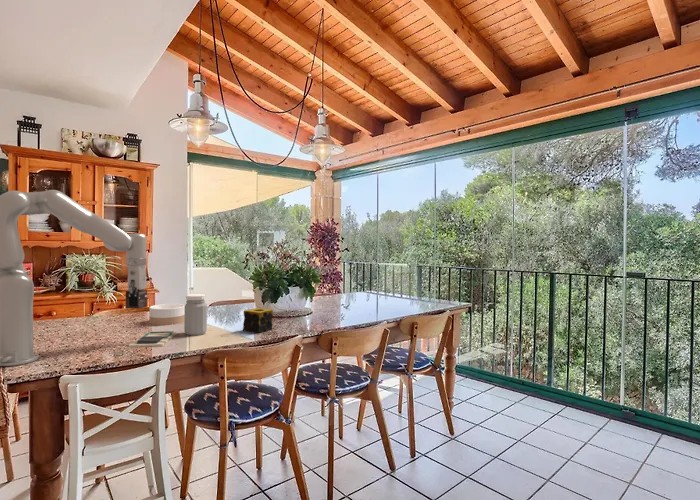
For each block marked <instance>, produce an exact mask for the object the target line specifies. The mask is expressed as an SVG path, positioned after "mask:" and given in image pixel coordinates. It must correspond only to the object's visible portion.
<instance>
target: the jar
mask: <svg viewBox="0 0 700 500" xmlns="http://www.w3.org/2000/svg"><path fill="white" fill-rule="evenodd" d="M185 298H186V299H185V300H186V301H185V302H186V303H185V304H184V305H185V317H184V322H183V323H184V332H183V333H184V334H186V335H187V336H192V337H193V336H200V335H201V336H202V335H204V334H206V332H207V330H208V329H207V328H208V325H207V324H208V319H207V318H208V312H207V311H208V306H207V305H208V304H207V302H206V294H204V293H190V294H186V295H185Z"/></svg>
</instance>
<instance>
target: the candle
mask: <svg viewBox="0 0 700 500" xmlns="http://www.w3.org/2000/svg"><path fill="white" fill-rule="evenodd" d="M273 310H274V309H268V308H263V307H262V308H259V307H255V308H250V309H245V310H243V319H244V320H243V323H242V325H243V326H242V329H243V330H242V331H243V332H248V333H255V334H262V333H265V332H269V331H271V330H273Z"/></svg>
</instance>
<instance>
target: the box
mask: <svg viewBox="0 0 700 500" xmlns="http://www.w3.org/2000/svg"><path fill="white" fill-rule="evenodd" d="M137 296H138V306H129V290H125V309H133V310H134V309H135V310H138V309H143V308H147V307H148V290H147V289H143V290H138V291H137Z"/></svg>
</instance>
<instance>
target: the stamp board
mask: <svg viewBox="0 0 700 500" xmlns="http://www.w3.org/2000/svg"><path fill="white" fill-rule="evenodd" d="M176 335H177V331H174V330H173V331H172V330H171V331H170V330H169V331H166V330H165V331H161V330H160V331H148V332H145V333H144V334H142V335H141V336H139V337H138V338H137V339H135V340H134V341H132V342H131V343H129V344H128V348H141V347H142V348H144V347H145V348H146V347H164V346H165V345H166V344H167V343H168V342H169V341H170V340H171V339H172V338H173V337H175V336H176Z"/></svg>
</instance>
